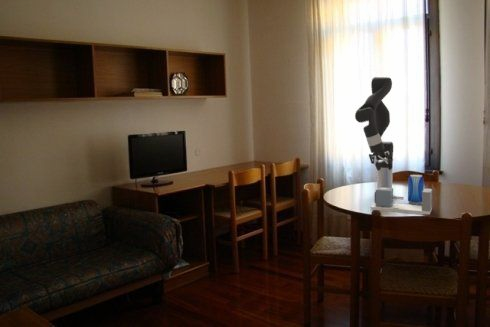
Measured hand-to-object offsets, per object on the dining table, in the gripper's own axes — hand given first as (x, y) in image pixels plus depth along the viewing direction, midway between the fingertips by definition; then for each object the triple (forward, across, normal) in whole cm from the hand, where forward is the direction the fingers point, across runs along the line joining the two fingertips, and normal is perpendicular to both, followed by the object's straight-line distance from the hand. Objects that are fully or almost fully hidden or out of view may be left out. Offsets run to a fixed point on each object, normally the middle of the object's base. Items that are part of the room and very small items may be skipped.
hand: (384, 169), depth 252 cm
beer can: (+27, 0, -13) cm, 30 cm away
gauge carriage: (+18, -2, +8) cm, 20 cm away
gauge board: (+22, -6, +5) cm, 23 cm away
